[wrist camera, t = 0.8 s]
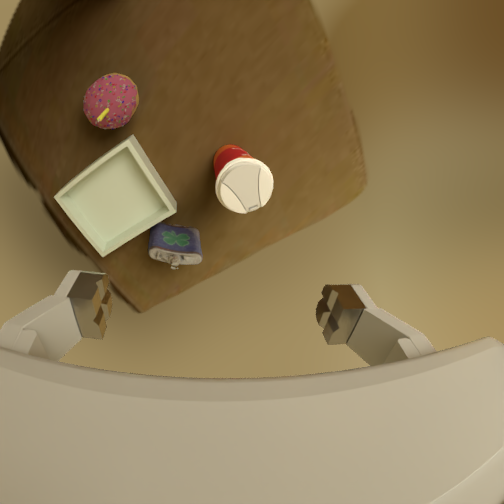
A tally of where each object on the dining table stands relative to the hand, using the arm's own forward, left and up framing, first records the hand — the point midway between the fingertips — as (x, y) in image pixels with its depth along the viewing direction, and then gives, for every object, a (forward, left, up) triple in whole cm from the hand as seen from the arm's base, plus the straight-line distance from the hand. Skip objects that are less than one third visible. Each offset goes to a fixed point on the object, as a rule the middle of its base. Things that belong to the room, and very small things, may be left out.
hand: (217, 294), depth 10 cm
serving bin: (+4, -17, -39) cm, 43 cm away
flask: (+16, -12, -39) cm, 44 cm away
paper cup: (+9, +3, -39) cm, 40 cm away
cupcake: (-10, -8, -39) cm, 41 cm away
